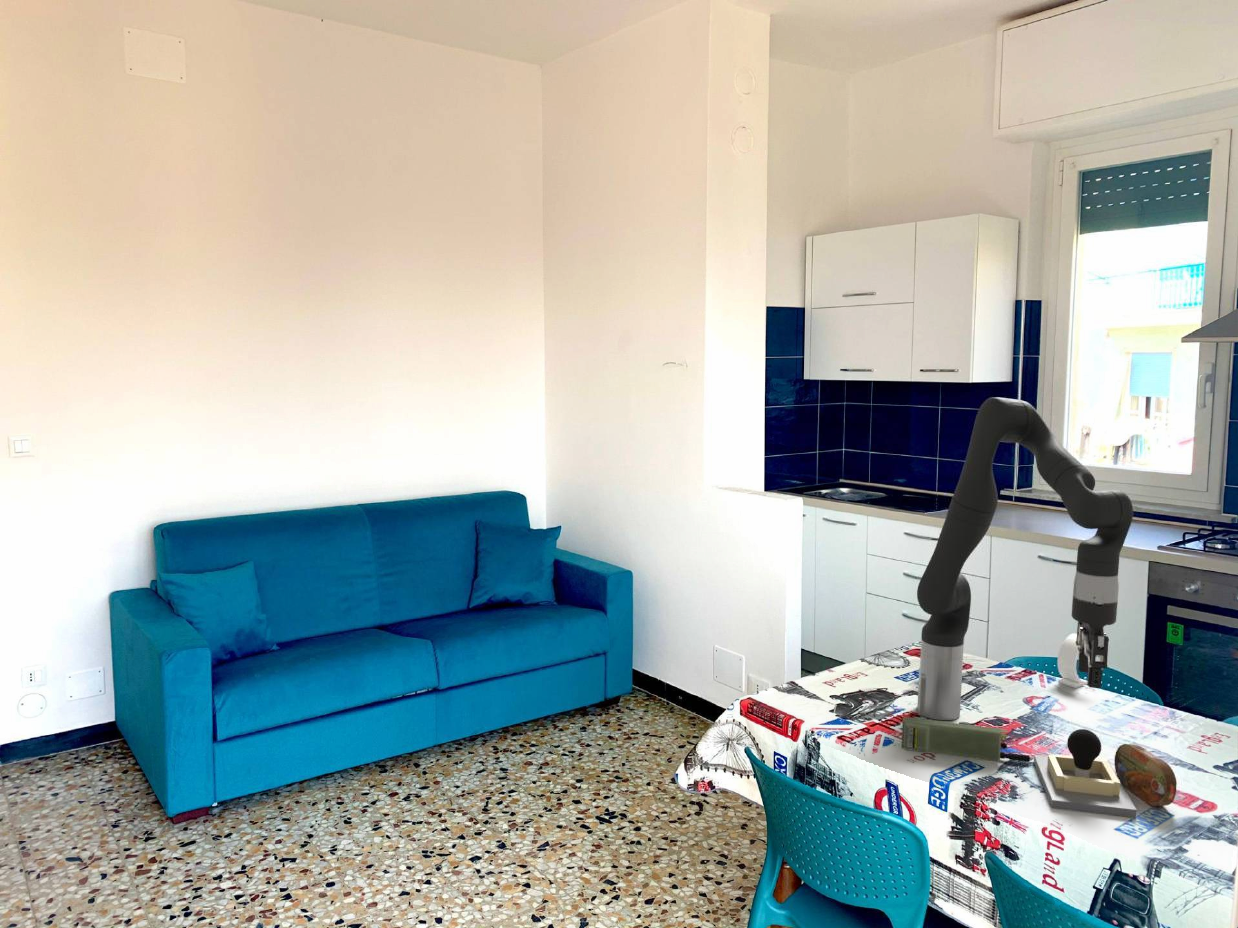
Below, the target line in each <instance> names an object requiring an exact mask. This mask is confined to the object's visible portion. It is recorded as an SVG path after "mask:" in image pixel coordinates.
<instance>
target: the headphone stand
mask: <svg viewBox="0 0 1238 928" xmlns="http://www.w3.org/2000/svg"><path fill="white" fill-rule="evenodd" d="M1076 638H1077V633H1071V634H1069V635H1068V636H1066V638H1065V639H1064V641H1063V642H1062V644H1061V645H1060V648H1059V651H1058V653H1057V671H1058V673H1059V674H1060V676H1061V677H1062V678H1059V679H1058V683H1060V684H1063V685H1066V686H1069V687H1070V688H1071V687H1072V688H1075V689H1076V688H1079V687H1083V686H1088V684H1087V681H1088V680H1087V679H1082V678H1080V677H1079V675H1078V671H1077V662H1078V658H1079V652H1078V649H1077V647H1078V646H1077V645H1076Z"/></svg>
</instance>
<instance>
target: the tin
mask: <svg viewBox="0 0 1238 928" xmlns="http://www.w3.org/2000/svg"><path fill="white" fill-rule="evenodd" d="M1114 772H1115V773H1116V775H1117V777H1118V779H1119V780H1120V782H1121V784H1122V785H1123V787H1124V789H1125V788H1126V789H1127V790H1129V792H1131V793H1133V794H1134V795H1135V796H1137V797H1138V798H1139V799H1140V800H1142V801H1144V802H1145V803H1146V804H1148V805H1150V806H1152V807H1157V806H1159V807H1164V806H1170V805H1171V804H1172V803H1173V802H1174V801H1175V798H1176V793H1177V784H1178V783H1177V777H1176V775H1175V773H1174V771H1173V768H1172V767H1171V766H1170V765H1169V763H1167V762H1166V761H1164V760H1163V759H1161V758H1160V757H1158V756H1157V755H1155V754H1154V753H1152V752H1150V751H1149V750H1147V749H1145V748H1144V747H1142V746H1141V745H1138V744H1137V745H1136V744H1129V743H1128V744H1127V743H1123V744H1121V745H1119V747H1118V748H1117V749H1116V751H1115V754H1114Z"/></svg>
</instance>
